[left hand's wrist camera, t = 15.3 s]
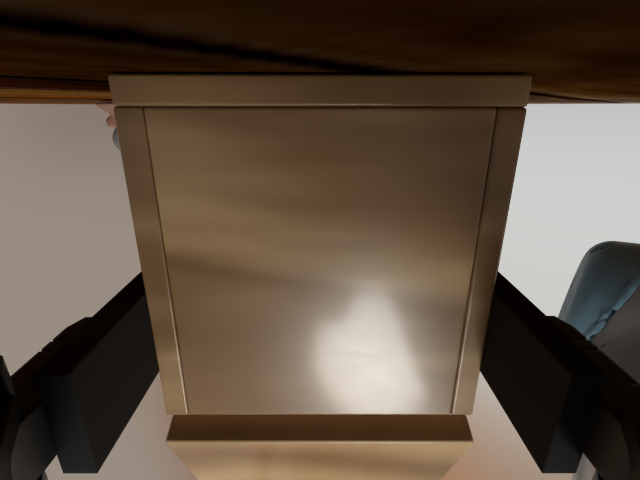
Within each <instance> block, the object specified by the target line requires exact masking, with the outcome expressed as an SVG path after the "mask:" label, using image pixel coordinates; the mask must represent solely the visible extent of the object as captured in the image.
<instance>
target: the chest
mask: <svg viewBox="0 0 640 480" xmlns="http://www.w3.org/2000/svg"><path fill="white" fill-rule="evenodd" d="M108 80H109V85H110V91H111V97H112V102H113V105H115V106H116V107H114V108H113V110H114V116H115V122H116V127H117V133H118V139H119V144H120V150H121V156H122V161H123V167H124V173H125V179H126V184H127V190H128V196H129V201H130V207H131V213H132V218H133V224H134V230H135V235H136V241H137V247H138V253H139V258H140V264H141V270H142V275H143V281H144V287H145V292H146V298H147V303H148V309H149V315H150V320H151V326H152V331H153V337H154V343H155V348H156V354H157V360H158V365H159V372H160V378H161V383H162V389H163V395H164V400H165V406H166V412H167V414H168V415H188V414H191V415H449V414H450V413H451V414H453V415H471V414H472V411H473V406H474V400H475V395H476V389H477V383H478V378H479V372H480V367H481V361H482V356H483V350H484V344H485V339H486V333H487V328H488V322H489V316H490V311H491V305H492V300H493V294H494V289H495V283H496V277H497V272H498V266H499V260H500V255H501V249H502V244H503V238H504V233H505V227H506V221H507V216H508V210H509V205H510V199H511V194H512V188H513V182H514V177H515V171H516V166H517V160H518V155H519V149H520V143H521V138H522V132H523V127H524V121H525V115H526V109H525V108H523V107H525V106H527V104H528V99H529V94H530V88H531V82H532V76H531V75H529V74H110V75H108Z"/></svg>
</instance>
